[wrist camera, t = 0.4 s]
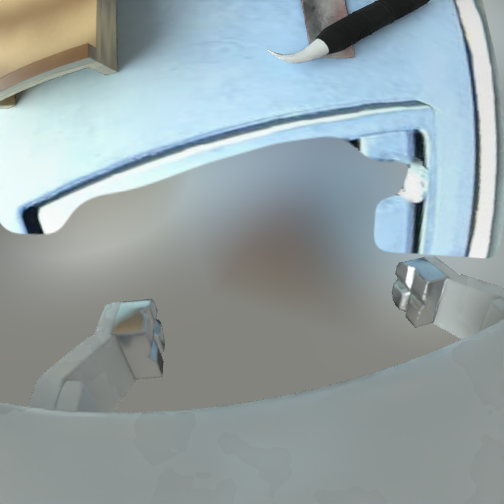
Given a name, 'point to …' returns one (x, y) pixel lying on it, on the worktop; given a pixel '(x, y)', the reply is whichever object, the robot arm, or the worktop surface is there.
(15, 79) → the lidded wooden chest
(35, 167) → the worktop surface
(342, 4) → the cleaver
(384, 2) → the hook tool
